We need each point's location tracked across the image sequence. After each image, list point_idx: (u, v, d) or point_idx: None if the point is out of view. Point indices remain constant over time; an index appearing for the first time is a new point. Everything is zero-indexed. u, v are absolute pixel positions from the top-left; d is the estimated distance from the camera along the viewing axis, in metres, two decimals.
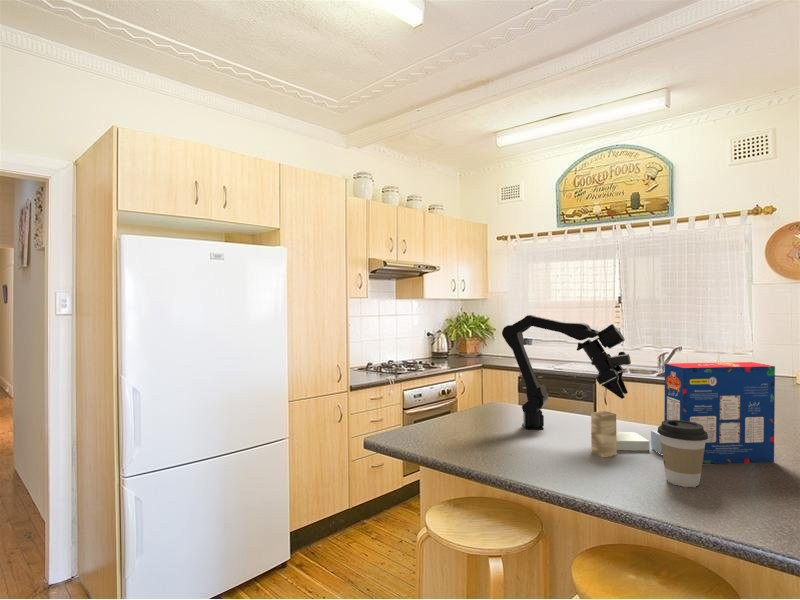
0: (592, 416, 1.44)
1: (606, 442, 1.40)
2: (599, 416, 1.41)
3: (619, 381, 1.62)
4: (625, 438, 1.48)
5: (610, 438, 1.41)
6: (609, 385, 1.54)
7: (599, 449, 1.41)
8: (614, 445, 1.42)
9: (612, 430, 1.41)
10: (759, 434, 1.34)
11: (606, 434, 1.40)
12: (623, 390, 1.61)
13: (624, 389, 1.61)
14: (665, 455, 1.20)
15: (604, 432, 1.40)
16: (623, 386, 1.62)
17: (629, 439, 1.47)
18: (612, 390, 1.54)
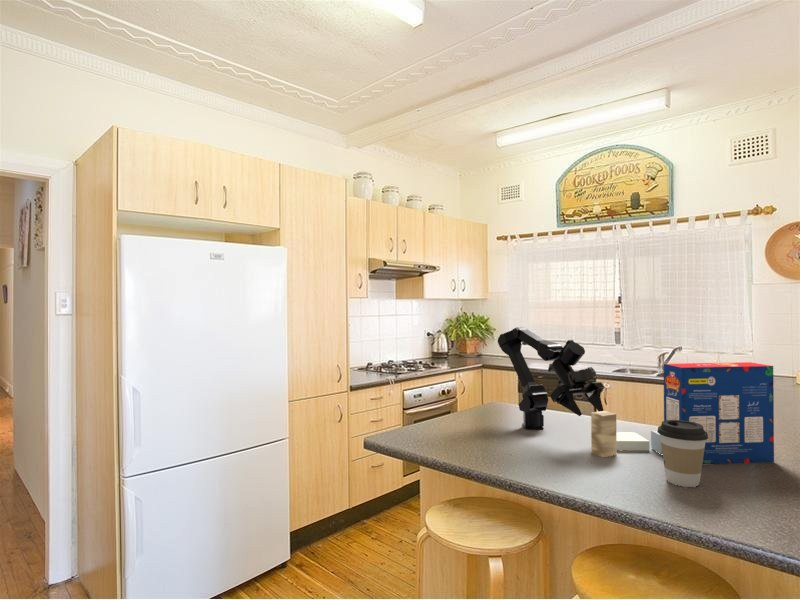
0: (592, 416, 1.44)
1: (606, 442, 1.40)
2: (599, 416, 1.41)
3: (595, 400, 1.52)
4: (625, 438, 1.48)
5: (610, 438, 1.41)
6: (565, 402, 1.49)
7: (599, 449, 1.41)
8: (614, 445, 1.42)
9: (612, 430, 1.41)
10: (758, 434, 1.34)
11: (606, 434, 1.40)
12: (599, 409, 1.50)
13: (600, 408, 1.50)
14: (665, 455, 1.20)
15: (604, 432, 1.40)
16: (598, 405, 1.50)
17: (629, 439, 1.47)
18: (569, 407, 1.48)
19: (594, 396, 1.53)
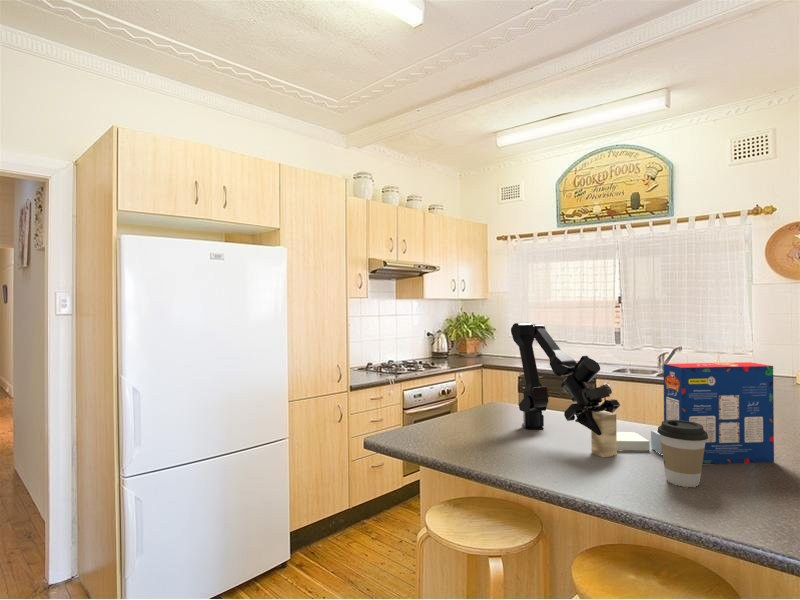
0: (592, 416, 1.44)
1: (607, 442, 1.40)
2: (599, 416, 1.41)
3: None
4: (625, 438, 1.48)
5: (610, 438, 1.41)
6: (584, 421, 1.44)
7: (599, 449, 1.41)
8: (614, 445, 1.42)
9: (612, 430, 1.41)
10: (758, 434, 1.34)
11: (606, 434, 1.40)
12: None
13: None
14: (665, 455, 1.20)
15: (604, 432, 1.40)
16: None
17: (629, 439, 1.47)
18: (588, 426, 1.43)
19: None
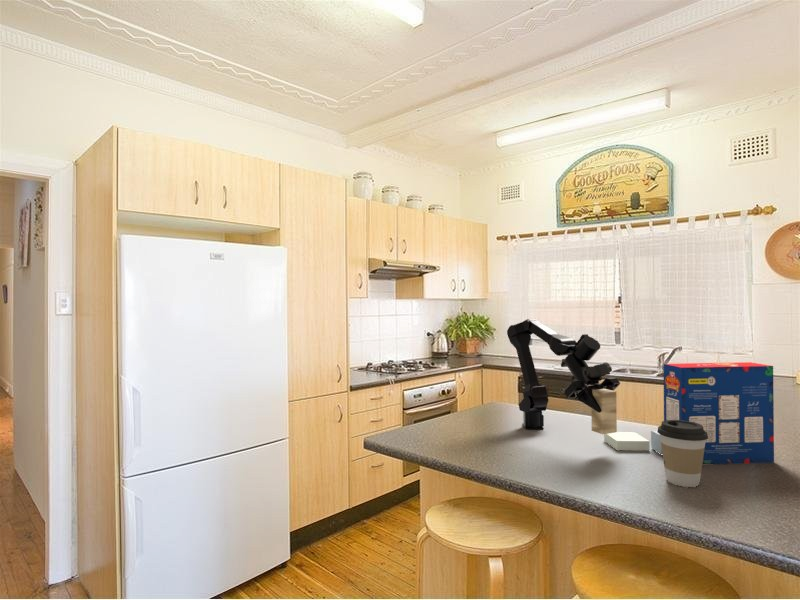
0: None
1: (607, 419, 1.40)
2: (599, 393, 1.41)
3: None
4: (625, 438, 1.48)
5: (610, 415, 1.41)
6: (584, 398, 1.44)
7: (599, 426, 1.41)
8: (614, 422, 1.42)
9: (612, 407, 1.41)
10: (758, 434, 1.34)
11: (606, 411, 1.40)
12: None
13: None
14: (665, 455, 1.20)
15: (604, 409, 1.40)
16: None
17: (629, 439, 1.47)
18: (588, 403, 1.43)
19: None
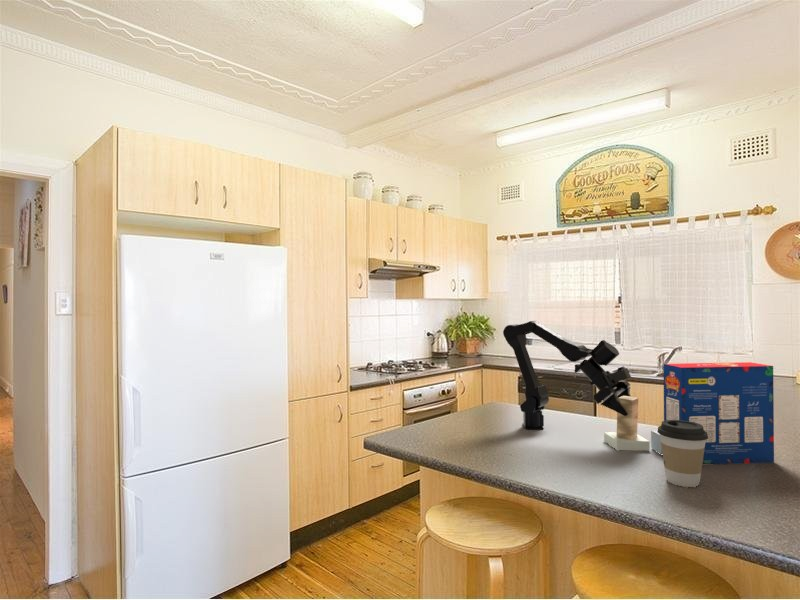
0: None
1: (633, 425, 1.48)
2: (628, 401, 1.48)
3: None
4: None
5: (635, 421, 1.49)
6: (609, 403, 1.48)
7: (627, 432, 1.48)
8: (636, 427, 1.50)
9: (636, 413, 1.50)
10: (758, 434, 1.34)
11: (633, 418, 1.48)
12: None
13: None
14: (665, 455, 1.20)
15: (632, 415, 1.47)
16: None
17: (629, 439, 1.47)
18: (613, 408, 1.48)
19: (624, 394, 1.56)
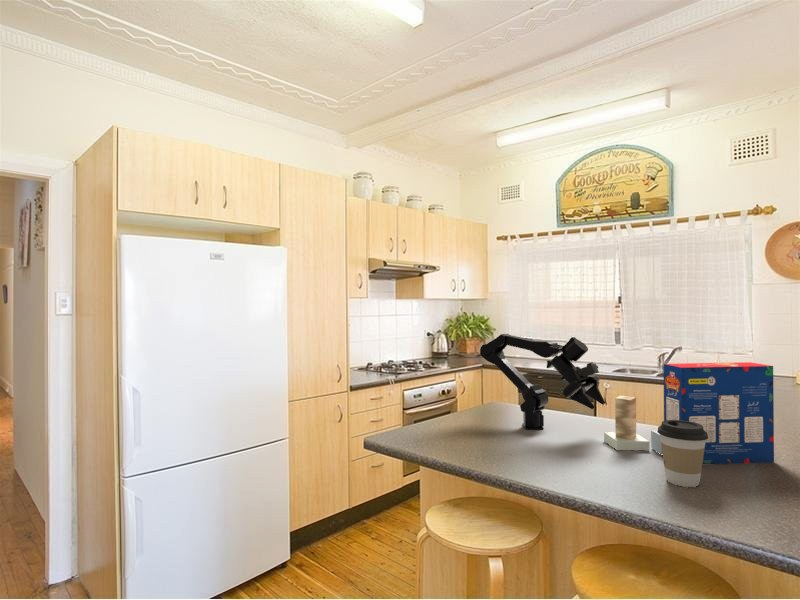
0: (616, 401, 1.50)
1: (631, 424, 1.48)
2: (625, 400, 1.48)
3: (595, 392, 1.62)
4: None
5: (633, 420, 1.49)
6: (577, 397, 1.55)
7: (626, 432, 1.48)
8: (635, 427, 1.50)
9: (634, 413, 1.50)
10: (758, 434, 1.34)
11: (631, 417, 1.48)
12: (600, 401, 1.61)
13: (601, 400, 1.60)
14: (665, 455, 1.20)
15: (630, 415, 1.48)
16: (600, 397, 1.61)
17: None
18: (581, 402, 1.55)
19: (593, 389, 1.63)
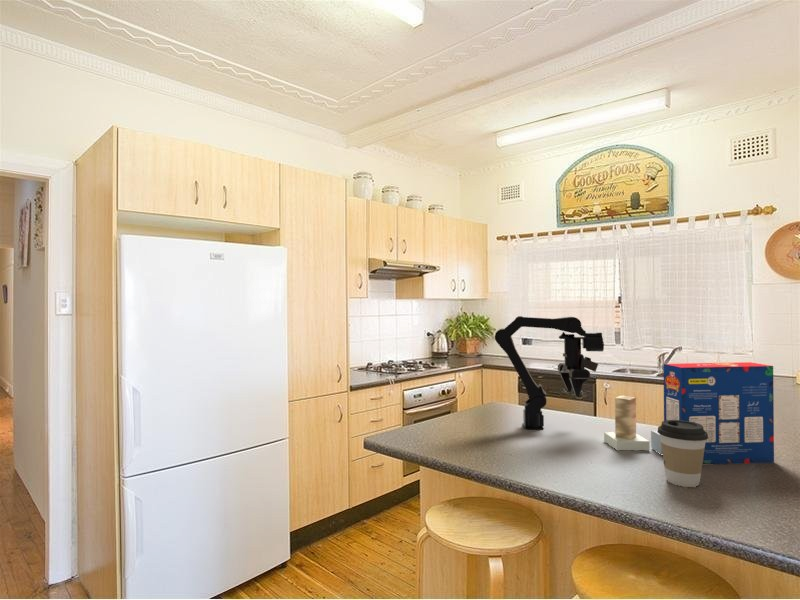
0: (616, 401, 1.50)
1: (631, 424, 1.48)
2: (625, 400, 1.48)
3: (569, 379, 1.75)
4: (625, 438, 1.48)
5: (633, 420, 1.50)
6: (575, 381, 1.64)
7: (625, 432, 1.48)
8: (635, 427, 1.51)
9: (634, 413, 1.50)
10: (758, 434, 1.34)
11: (631, 417, 1.48)
12: (568, 388, 1.74)
13: (570, 387, 1.74)
14: (665, 455, 1.20)
15: (630, 415, 1.48)
16: (570, 384, 1.74)
17: (629, 439, 1.47)
18: (574, 386, 1.64)
19: (570, 376, 1.75)
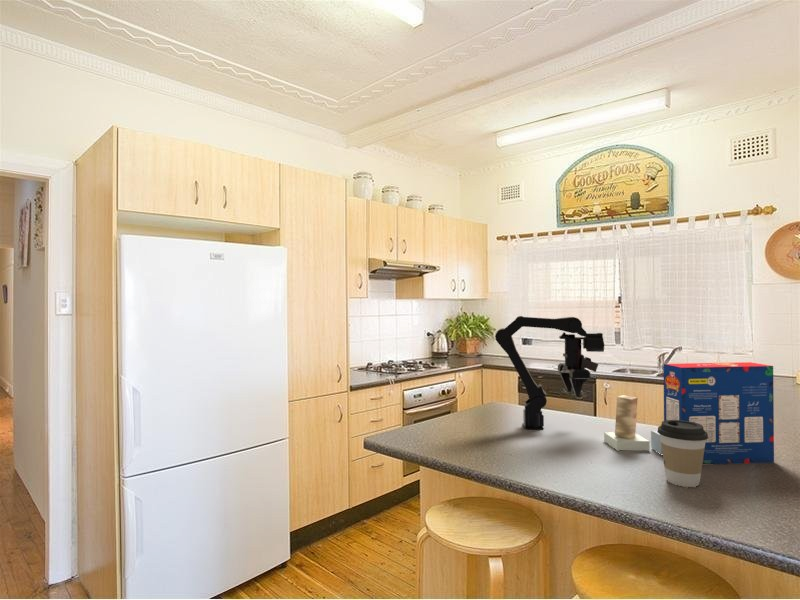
0: (617, 400, 1.50)
1: (632, 424, 1.48)
2: (627, 400, 1.48)
3: (569, 379, 1.75)
4: (625, 438, 1.48)
5: (633, 420, 1.50)
6: (575, 381, 1.64)
7: (625, 431, 1.48)
8: (635, 427, 1.51)
9: (635, 413, 1.50)
10: (758, 434, 1.34)
11: (632, 417, 1.48)
12: (568, 388, 1.74)
13: (570, 387, 1.74)
14: (665, 455, 1.20)
15: (631, 414, 1.48)
16: (570, 385, 1.74)
17: (629, 439, 1.47)
18: (575, 386, 1.64)
19: (570, 376, 1.75)
